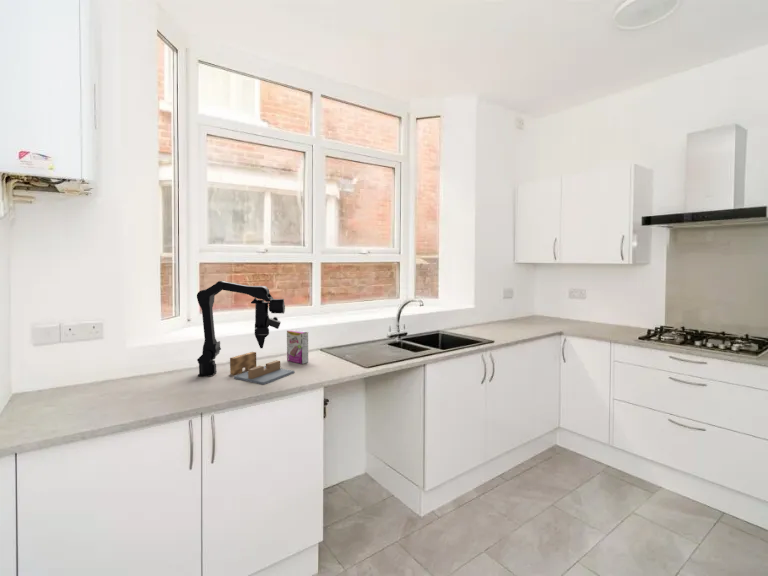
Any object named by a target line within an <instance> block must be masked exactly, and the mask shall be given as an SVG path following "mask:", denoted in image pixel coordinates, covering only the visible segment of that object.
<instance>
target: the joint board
mask: <svg viewBox="0 0 768 576" xmlns="http://www.w3.org/2000/svg"><path fill="white" fill-rule="evenodd" d="M294 373H295V370H292V369H287V368H281V360H278V359H277V360H276V359H275V360H272V361H270V362H267V363H265V365H256V367H254V368H251V369H248V371H245V372H243V373H240V374H237V375H233V379H236V380H241V381H246V382H250V383H255V384H259V385H266V384H270V383H272V382H274V381H277V380H279V379H282V378H285V377H287V376H289V375H292V374H294Z"/></svg>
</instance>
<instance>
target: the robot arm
mask: <svg viewBox="0 0 768 576" xmlns="http://www.w3.org/2000/svg"><path fill="white" fill-rule="evenodd" d="M222 291H227V292H228V291H229V292H233V293H239V294H243V295H248V296H250V297H252V298H254V299H253V300H251V302H250V304H254V306H255V310H254V311H255V312H254V313H255V314H254V315H255V318H254V319H255V320H254V336H255V339H256V341H257V343H258V346H259V348H260V349H264V344H265V341H266V340H265V339H266V338H267V336H269V335H270V329H269V327H272V328H274V329H277V330H279V328H280V326H281V321H280V320H279V318H278V317H277V316H274V317H273V318H272V317H270V316H269V315H270V314H269V312H271V314H285V311H286V305H285V304H286V303H285V299H284V298H278V299H277V298H274V297H273V296H272V295H271V293H270V290H269V288H268V287H267V286H266V285H247V284H240V283H234V282H230V281H225V280H219V281H217V282H216V283H214V284H213V285H211V286H209V287H207V288H206V289H201V290H200V291H198V292H197V294H196V299H197V302H198V305H199V308H201V314H202V325H203V336H204V342H203V346H202V351H201V353H202V354H201V355H200V356H199V357H198V358H197V359H196V361H197V364H198V374H197V376H198V377H212V376H215V374H216V373H217V364H216V358H217V356H218V355H219V354H220V351H221V350H222V348H221V341H219V340H218V341H217V338H216V334H215V333H216V332H215V331H216V330H215V324H214V323H215V322H214V314H213V313H214V312H213V307H214V303H215V296H216V295H218V294H219V293H220V292H222Z"/></svg>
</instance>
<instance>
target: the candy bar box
mask: <svg viewBox="0 0 768 576" xmlns="http://www.w3.org/2000/svg"><path fill="white" fill-rule="evenodd" d="M286 361H287V362H291V363H296V364H300V365H305V364H307V363H309V332H308V331H304V330H300V329H299V330H298V329H289V330H286Z"/></svg>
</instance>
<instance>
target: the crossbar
mask: <svg viewBox="0 0 768 576" xmlns="http://www.w3.org/2000/svg"><path fill="white" fill-rule="evenodd" d="M254 367H257V351H250V352H247V353H243V354H240V355H235V356H232V357H230V358H229V368H230V370H229V372H230V376H236V375H239V374H242V373H244V372H243V369H244V370H245V371H246V372H248V369H251V368H254Z"/></svg>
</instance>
